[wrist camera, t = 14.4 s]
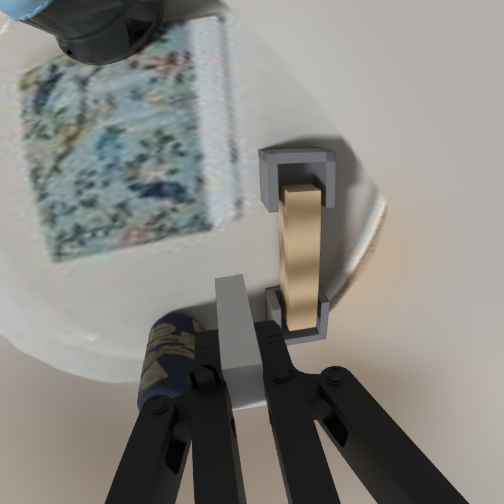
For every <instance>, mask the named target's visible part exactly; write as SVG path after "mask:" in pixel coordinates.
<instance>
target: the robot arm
mask: <svg viewBox="0 0 504 504" xmlns="http://www.w3.org/2000/svg"><path fill="white" fill-rule="evenodd" d="M0 11H2V12H4V13H5V14H7V15H8V16H9V17H10V18H11V19H12V20H16V21H21V22H24V23H26V24H29V25H31V26H34V27H36V28H39V29H41V30H43V31H46V32H48V33H50V34H53V35H54V36H55V38H56V40H57V42H58V44H59V46H60V48H61V49H62V51H63V52H64V53H65V54H66V55H67V56H69V57H70V58H72V59H74V60H76V61H78V62H81V63H84V64H88V65H106V64H111V63H115V62H118V61H120V60H122V59H125V58H127V57H128V56H130V55H132V54H133V53H135V52H136V51H138V50H139V49H140V48H141V47H143V46H144V45H145V44H146V43H147V42H148V41H149V40H150V38H151V37H152V36H153V34H154V33H155V32H156V30H157V28H158V26H159V24H160V22H161V19H162V16H163V12H164V0H0ZM215 288H216V304H217V318H218V329H217V330H210V331H203V332H199V333H198V335H197V337H196V338H195V360H194V366H192V367H191V368H190V369H189V370H188V371H187V375H186V378H187V380H188V383H189V386H190V389H189V390H188V391H187V392H186V393H184V394H182V395H179V396H177V397H174V398H171V397H169V396H168V395H164V394H156V395H154V396H151V397H150V398H148V399H147V400H146V401H145V402H144V404H143V406H142V408H141V411H140V413H139V416H138V418H137V421H136V423H135V426H134V428H133V431H132V434H131V436H130V438H129V441H128V443H127V446H126V448H125V451H124V453H123V456H122V459H121V461H120V464H119V466H118V469H117V472H116V475H115V477H114V480H113V482H112V485H111V488H110V491H109V493H108V496H107V499H106V501H105V504H175V502H176V498H177V495H178V491H179V487H180V482H181V479H182V475H183V471H184V468H185V464H186V460H187V456H188V452H189V448H190V445H191V440H192V458H193V480H194V499H195V504H247V503H246V497H245V490H244V484H243V478H242V471H241V463H240V456H239V449H238V442H237V435H236V427H235V420H234V417H233V412H232V410H237V409H244V408H249V407H256V406H262V405H267V406H268V412H269V420H270V424H271V427H272V432H273V436H274V441H275V446H276V450H277V455H278V459H279V463H280V468H281V473H282V477H283V481H284V486H285V490H286V495H287V499H288V503H289V504H341V503H340V500H339V497H338V494H337V491H336V488H335V485H334V482H333V478H332V475H331V473H330V470H329V466H328V463H327V460H326V457H325V454H324V451H323V448H322V445H321V442H320V439H319V435H318V432H317V429H316V426H315V423H314V420H317V421H318V422H319V424H320V425H321V427H322V428H323V429H324V431H325V432H326V434H327V435H328V437H329V438H330V439H331V441H332V442H333V443H334V445H335V446H336V448H337V449H338V451H339V452H340V453H341V455H342V456H343V457H344V459H345V460H346V461H347V463H348V464H349V466H350V467H351V469H352V470H353V471H354V473H355V474H356V475H357V476H358V478H359V479H360V481H361V482H362V483H363V485H364V486H365V487H366V489H367V490H368V491H369V493H370V494H371V495H372V497H373V498H374V499H375V501H376V502H377V503H378V504H469V503H468V502H467V501H466V500H465V499H464V498H463V496H462V495H461V494H460V493H459V492H458V491H457V490H456V489H455V488H454V487H453V486H452V484H451V483H450V482H449V481H448V480H447V479H446V478H445V477H444V476H443V475H442V473H441V472H440V471H439V470H438V469H437V468H436V467H435V466H434V464H433V463H432V462H431V461H430V460H429V459H428V458H427V457H426V456H425V455H424V454H423V452H422V451H421V450H420V449H419V448H418V447H417V446H416V445H415V444H414V442H413V441H412V440H411V439H410V438H409V437H408V436H407V435H406V434H405V432H404V431H403V430H402V429H401V428H400V427H399V426H398V425H397V424H396V423H395V421H394V420H393V419H392V418H391V417H390V416H389V415H388V413H387V412H386V411H385V410H384V409H383V408H382V407H381V406H380V405H379V403H378V402H377V401H376V400H375V399H374V398H373V397H372V396H371V395H370V394H369V392H368V391H367V390H366V389H365V388H364V387H363V386H362V384H361V383H360V382H359V381H358V380H357V379H356V378H355V377H354V375H353V374H352V373H351V372H350V371H348V370H347V369H346V368H343V367H340V366H332V367H328V368H326V369H324V370H323V371H322V372H321V374H307V373H303V372H300V371H298V370H297V369H296V368H295V367H294V366H293V364H292V362H291V358H290V355H289V352H288V349H287V346H286V343H285V340H284V337H283V334H282V331H281V328H280V325H278V324H277V323H276V322H275V321H274V320H269V321H263V322H257V323H253V320H252V315H251V311H250V306H249V301H248V297H247V292H246V288H245V283H244V278H243V274H241V275H235V276H228V277H222V278H215Z"/></svg>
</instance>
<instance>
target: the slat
mask: <svg viewBox="0 0 504 504" xmlns="http://www.w3.org/2000/svg"><path fill="white" fill-rule="evenodd" d="M278 193H279V240H280V286H281V310H282V313H283V315H284V318H285V321H286V323H287V326H288V329H289V331H293V330H300V329H306V328H312V327H316V319H317V303H318V285H319V262H320V229H321V190H319V189H318V188H316V187H315V186H313V185H312V184H310V183H309V182H307V181H295V182H280V183H278Z"/></svg>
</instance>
